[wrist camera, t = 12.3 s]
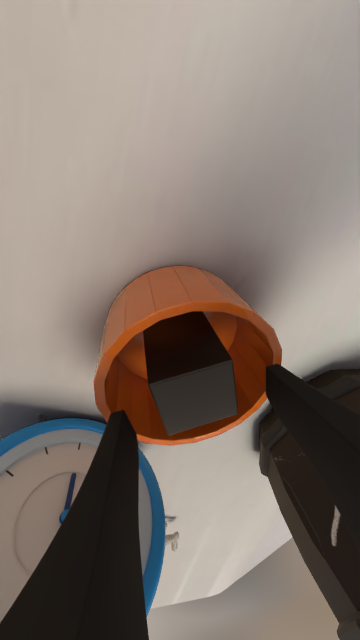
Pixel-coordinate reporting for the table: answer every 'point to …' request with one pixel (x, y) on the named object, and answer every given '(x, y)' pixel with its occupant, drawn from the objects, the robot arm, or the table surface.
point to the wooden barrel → (316, 506)
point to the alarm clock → (61, 500)
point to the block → (189, 372)
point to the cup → (168, 301)
